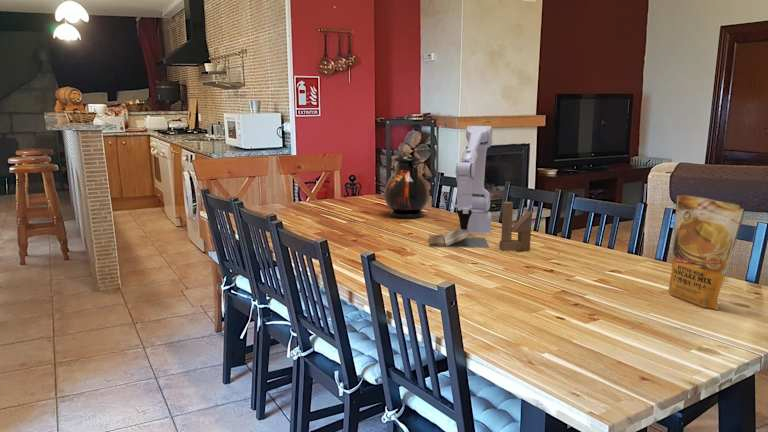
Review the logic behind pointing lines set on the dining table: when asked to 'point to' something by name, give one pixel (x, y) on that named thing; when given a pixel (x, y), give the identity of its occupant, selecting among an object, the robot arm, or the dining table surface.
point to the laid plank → (436, 240)
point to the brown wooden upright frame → (515, 230)
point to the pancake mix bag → (702, 248)
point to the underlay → (469, 243)
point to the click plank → (456, 236)
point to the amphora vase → (406, 189)
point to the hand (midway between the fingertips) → (463, 229)
